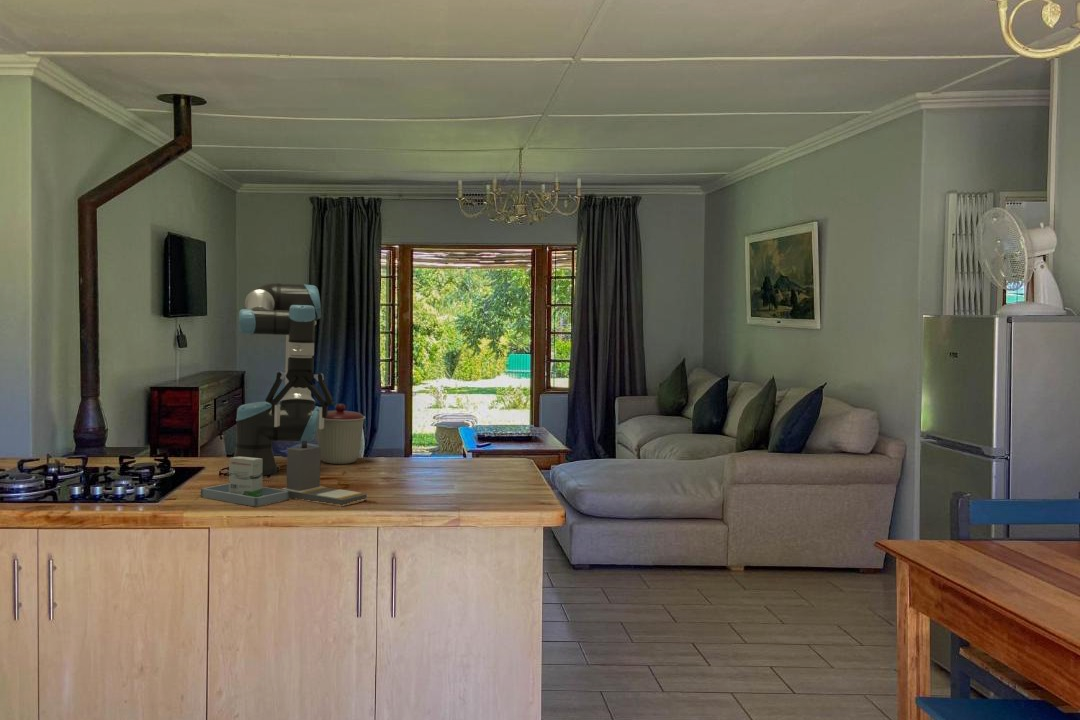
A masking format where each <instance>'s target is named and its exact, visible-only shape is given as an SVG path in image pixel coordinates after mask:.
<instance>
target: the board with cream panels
mask: <svg viewBox="0 0 1080 720" xmlns="http://www.w3.org/2000/svg"><path fill="white" fill-rule="evenodd" d="M279 489H280V490H286V491H290V499H293V498H297V499H296V500H298V499H304V500H310V501H319V502H326V503H333V504H340V505H343V504H347V503H350V502H353V501H357V500H361V499H365V498H366V499H367V495H368V494H367V493H363V492H359V491H353V490H346V489H337V488H336V489H335V488H330V487H328V486H323V485H320V487H315V488H311V489H306V490H301V491H296V490H290V489H286V487H283V488H279ZM304 500H303V501H304ZM310 501H309V502H310Z"/></svg>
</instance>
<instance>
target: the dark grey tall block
mask: <svg viewBox="0 0 1080 720" xmlns="http://www.w3.org/2000/svg"><path fill="white" fill-rule="evenodd" d="M286 450H287V452H286V453H287V454H286V455H287V457H286V458H287V459H286V486H285V488H286V489H290V490H296V491H301V490H306V489H311V488H315V487H320V486H321V483H320V482H321V447H318V446H314V445H308V441H302V442H301V446H296V447H291V448H287V449H286Z"/></svg>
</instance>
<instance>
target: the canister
mask: <svg viewBox="0 0 1080 720" xmlns="http://www.w3.org/2000/svg"><path fill="white" fill-rule="evenodd" d="M334 408H335V410H328V415H327V417H326V418H324V428H323V429H319V418H318V425H317V431H316V437H317V447H321V458H320V461H322V462H323V463H327V464H331V465H332V464H333V465H344V464H345V465H346V464H348V465H349V464H352V463H355V462H356V461H357V459H358V458H359V454H360V447H361V441H362V435H363V428H364V421H365V419H366V416H365V415H363V414H362V413H360V412H357V411H352V410H351V411H350V410H345V409H346V405H345V404H344V403H337V404H336V405H334Z"/></svg>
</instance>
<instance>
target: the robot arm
mask: <svg viewBox="0 0 1080 720" xmlns="http://www.w3.org/2000/svg"><path fill="white" fill-rule="evenodd" d="M321 306H322V305H321V299H320V292H319V289H318V287H317V286H316V285H313V284H305V283H301V284H300V283H278V282H271V283H270V282H269V283H265V284H262V285H259V286H257V287H255V288H253V289H251V290H250V291H249V292H248V293H247V294H246V296H245V300H244V307H245V309H244V308H242V309H240V310H239V312H238V331H239V333H240V334H244V335H275V336H277V335H279V336H280V335H281V336H285V369H284V370H285V372H283V371H278V372H276V378H275V381H274V382H273V385H272V386H271V389H270V390H269V392H268V394H267V396H266V398H265V399H264V401H256V402H249V403H245V404H241V405H240V406H238V407H237V410H236V419H235V421H236V431H235V432H236V434H235V451H234V454H233V457H239V456H240V457H251V458H262V459H263V466H262V477H263V476H270V475H271V476H272V475H275V474H277V472H278V465H277V463H276V459H275V455H274V451H273V442H300V443H302V441H307V442H310V441H313V440H314V439H315V438H316V437H317V425H318V418H319V429H323V428H324V418H326V417H327V415H328V411H329V410H328V409H329V406H332V405H334V404H335V401H334V399H333V395H332V394H331V392H330V390H329V388H328V385H327V383H326V382H325V374H324V373H318V374H316V373H315V372H314V367H315V366H314V362H315V359H314V358H313V356H314V355H315V329H316V325H317V322H318V320H320V319H321V318H322V308H321ZM283 380H284V386H283V388H282V389H281V390H280V391H279V393H278V394H277V395H276V393H277V391H278V389H279V388H280V385H282V382H283ZM314 380H315V381H317V382H318V385H319V387H320V390H321V391H322V394H323V395H322V394H321V392H320V391H319V390H318V389H317V387H316V385H315V383H313V381H314ZM312 395H313V396H314V398H315V399H316V401H317V402H318V403H319V404H320V405H321V406H318V405H316V401H315V399H314V398H313V396H312ZM233 457H232V458H233Z"/></svg>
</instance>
